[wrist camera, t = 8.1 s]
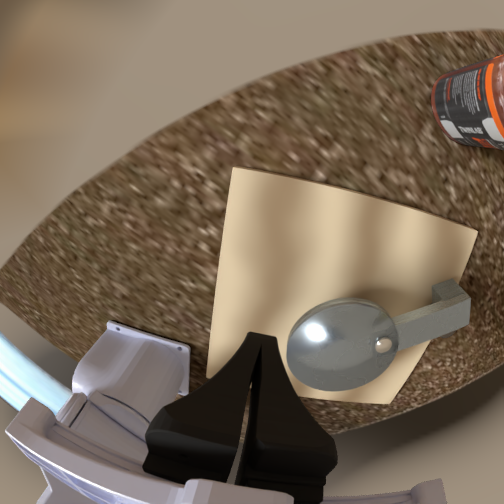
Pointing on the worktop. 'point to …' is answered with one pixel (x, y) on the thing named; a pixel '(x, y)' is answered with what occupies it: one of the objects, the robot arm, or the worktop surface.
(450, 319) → the crank
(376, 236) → the plate
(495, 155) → the worktop surface
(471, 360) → the worktop surface
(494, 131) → the supplement bottle
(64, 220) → the worktop surface
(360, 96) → the worktop surface
